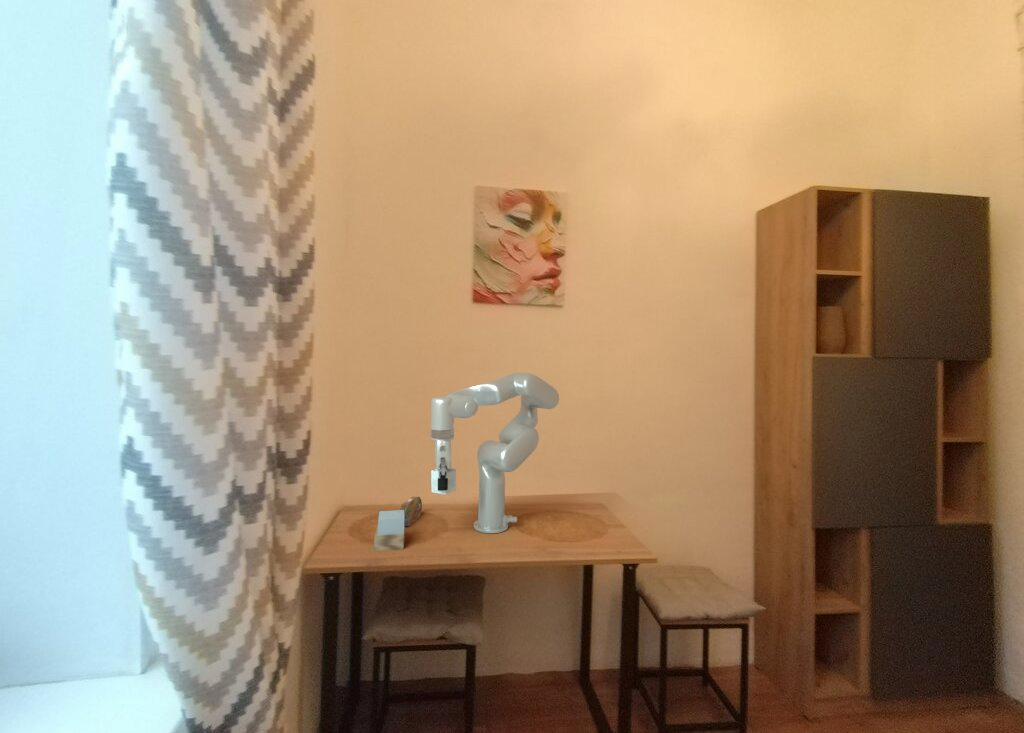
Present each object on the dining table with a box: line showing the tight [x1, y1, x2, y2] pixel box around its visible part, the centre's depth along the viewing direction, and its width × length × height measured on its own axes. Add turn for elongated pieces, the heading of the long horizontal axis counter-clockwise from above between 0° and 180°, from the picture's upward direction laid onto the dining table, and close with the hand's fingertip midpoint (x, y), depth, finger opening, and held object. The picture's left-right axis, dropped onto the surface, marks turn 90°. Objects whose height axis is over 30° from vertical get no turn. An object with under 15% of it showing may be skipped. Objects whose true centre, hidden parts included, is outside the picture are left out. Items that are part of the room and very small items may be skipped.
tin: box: [399, 496, 423, 527], centre depth 166 cm, size 15×3×8 cm, turn 168°
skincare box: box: [430, 467, 457, 496], centre depth 148 cm, size 6×6×7 cm
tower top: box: [377, 509, 404, 535], centre depth 145 cm, size 8×8×5 cm
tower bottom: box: [373, 524, 406, 552], centre depth 145 cm, size 9×9×5 cm
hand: (442, 485), depth 148 cm, fingers closed on skincare box, 8 cm apart
